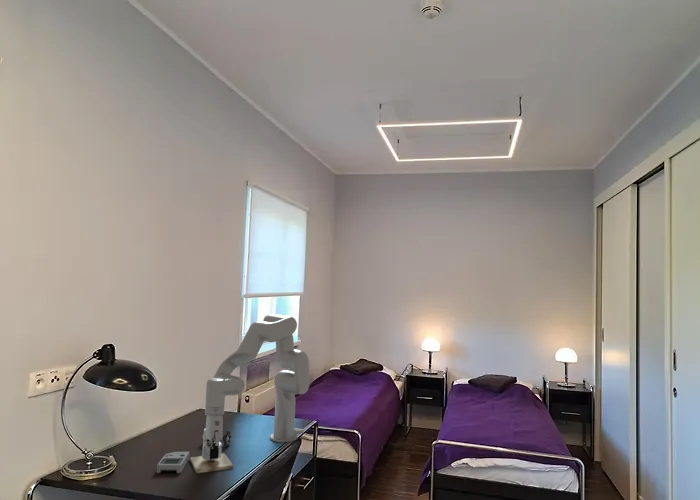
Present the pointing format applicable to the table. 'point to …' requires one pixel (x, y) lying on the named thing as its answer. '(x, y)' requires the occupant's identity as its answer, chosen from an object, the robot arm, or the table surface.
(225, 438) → the valve
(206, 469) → the shaft stand
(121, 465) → the table surface
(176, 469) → the handheld gaming device
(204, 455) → the hub
